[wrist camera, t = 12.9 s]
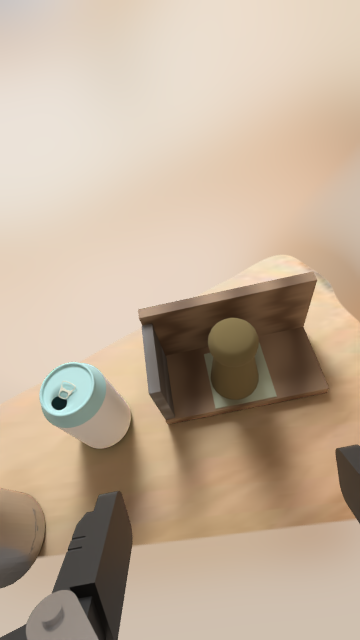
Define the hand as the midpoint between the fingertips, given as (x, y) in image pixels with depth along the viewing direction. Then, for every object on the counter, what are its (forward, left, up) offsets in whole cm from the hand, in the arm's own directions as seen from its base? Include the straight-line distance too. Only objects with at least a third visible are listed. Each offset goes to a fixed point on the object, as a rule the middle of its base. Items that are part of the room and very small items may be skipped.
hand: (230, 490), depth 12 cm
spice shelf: (+4, +17, -29) cm, 33 cm away
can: (-14, +14, -29) cm, 35 cm away
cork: (+3, +15, -27) cm, 31 cm away
